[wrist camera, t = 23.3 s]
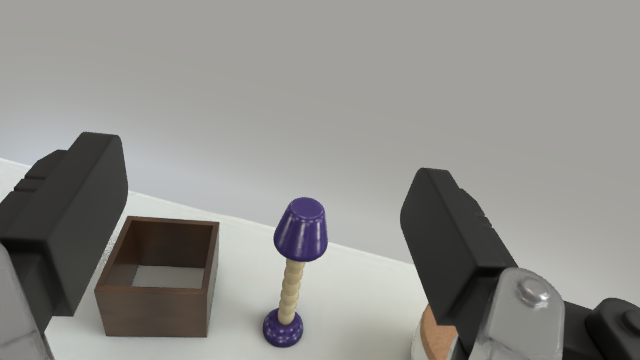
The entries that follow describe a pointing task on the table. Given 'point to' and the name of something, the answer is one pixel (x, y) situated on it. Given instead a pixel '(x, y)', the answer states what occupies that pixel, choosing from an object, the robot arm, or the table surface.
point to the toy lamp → (295, 265)
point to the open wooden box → (152, 302)
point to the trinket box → (431, 338)
